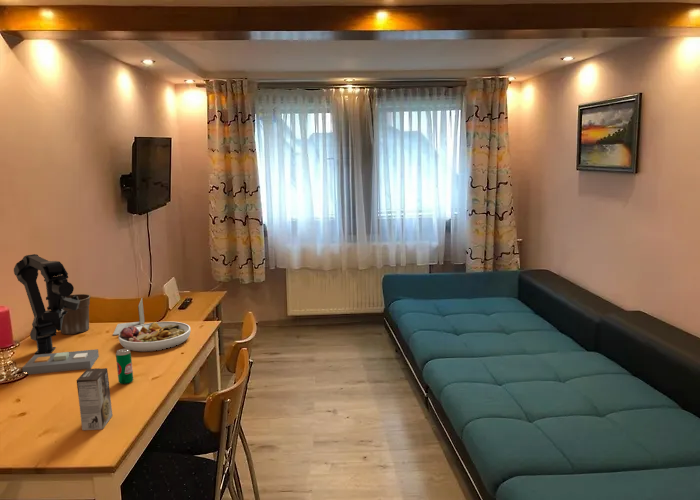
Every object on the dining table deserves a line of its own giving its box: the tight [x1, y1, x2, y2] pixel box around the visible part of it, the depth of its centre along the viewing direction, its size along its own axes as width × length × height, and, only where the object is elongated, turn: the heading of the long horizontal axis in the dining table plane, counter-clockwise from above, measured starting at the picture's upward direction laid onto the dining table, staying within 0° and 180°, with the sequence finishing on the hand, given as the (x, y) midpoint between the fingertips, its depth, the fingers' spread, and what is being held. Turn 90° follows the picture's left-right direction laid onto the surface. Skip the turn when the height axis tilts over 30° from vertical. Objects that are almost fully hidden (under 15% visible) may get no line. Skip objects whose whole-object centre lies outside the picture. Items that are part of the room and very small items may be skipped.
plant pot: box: [60, 293, 91, 335], centre depth 268 cm, size 16×16×16 cm
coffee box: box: [76, 367, 113, 431], centre depth 173 cm, size 9×6×16 cm
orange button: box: [34, 356, 50, 362], centre depth 223 cm, size 4×4×3 cm
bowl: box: [118, 321, 191, 352], centre depth 250 cm, size 30×30×8 cm
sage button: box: [54, 351, 70, 361], centre depth 224 cm, size 4×4×3 cm
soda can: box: [115, 348, 134, 385], centre depth 205 cm, size 5×5×12 cm
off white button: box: [73, 353, 88, 359], centre depth 226 cm, size 4×4×3 cm
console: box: [22, 349, 100, 375], centre depth 224 cm, size 14×24×3 cm, turn 102°
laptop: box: [112, 297, 145, 336], centre depth 270 cm, size 18×12×13 cm
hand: (59, 330), depth 230 cm, fingers closed
